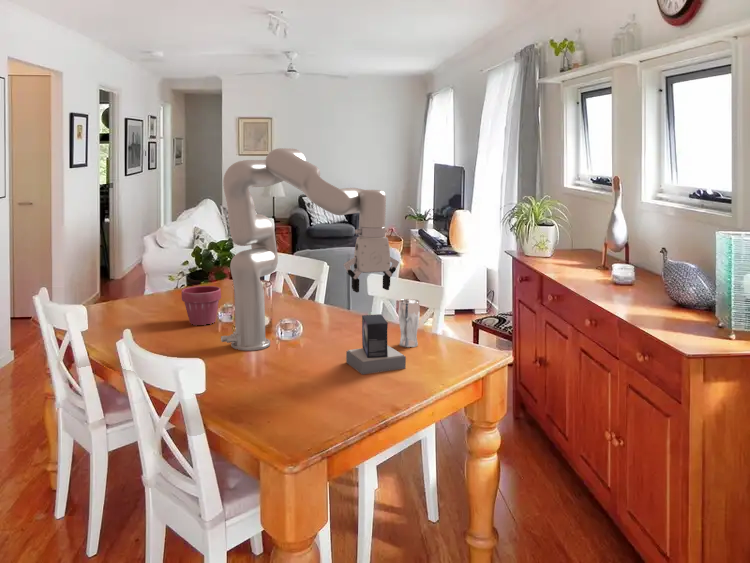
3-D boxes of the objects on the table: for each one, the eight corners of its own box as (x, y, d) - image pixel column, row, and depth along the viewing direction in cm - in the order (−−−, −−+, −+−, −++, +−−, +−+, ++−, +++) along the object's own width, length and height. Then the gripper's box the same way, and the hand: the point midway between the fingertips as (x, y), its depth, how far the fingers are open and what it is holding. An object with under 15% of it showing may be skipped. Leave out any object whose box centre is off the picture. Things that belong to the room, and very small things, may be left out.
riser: (362, 374, 191) (362, 361, 190) (346, 362, 201) (346, 349, 201) (405, 368, 196) (405, 355, 196) (387, 356, 207) (388, 344, 206)
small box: (360, 347, 203) (361, 314, 201) (381, 346, 204) (382, 313, 202) (366, 358, 193) (366, 323, 191) (388, 357, 194) (388, 322, 192)
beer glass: (421, 343, 222) (422, 299, 219) (415, 349, 216) (416, 304, 213) (401, 341, 224) (402, 298, 222) (395, 346, 218) (396, 302, 215)
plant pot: (186, 318, 253) (184, 285, 250) (224, 317, 254) (222, 285, 252) (179, 328, 239) (178, 293, 236) (219, 327, 240) (218, 292, 238)
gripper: (349, 235, 186) (348, 295, 189) (404, 233, 193) (402, 291, 196) (339, 232, 192) (339, 289, 196) (393, 230, 199) (391, 286, 203)
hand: (371, 290), depth 196 cm, fingers open, 9 cm apart
